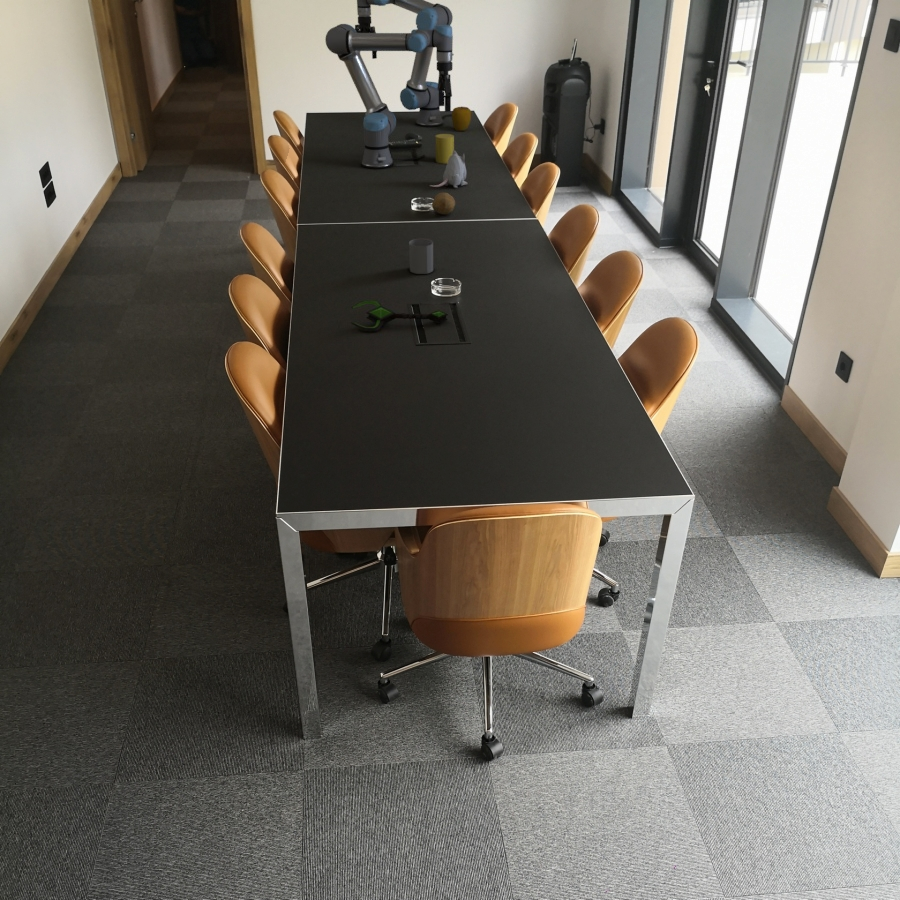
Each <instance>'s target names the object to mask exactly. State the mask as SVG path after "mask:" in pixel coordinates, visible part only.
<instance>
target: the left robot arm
mask: <svg viewBox="0 0 900 900" xmlns="http://www.w3.org/2000/svg"><path fill="white" fill-rule="evenodd" d="M453 36H454V34H453V27H452V25H438V26H437V27H436V30H422V29H417V28H416V29H411V32H376V33H357V32H356V30H355V27H354V26H352V25H350V24H348V23H340V24H337V25H336V26H334V27H332V28H329V30H328V31H327V32H326V35H325V39H324V40H325V45H326V48H327V49H328V50H329V52H330V53H332V54H334V55H337V57H338V59H339V61H342V62H344V64H345V65H344V66H345V67H346V69H347V71H348V73H349V75H350V78H351V80H352V82H353V84H354V86H355V89H356V91H357V94H358V95H359V97H360V99H361V101H362V103H363V106H364V108H365V114H364V118H363V122H362V125H363V138H364V139H363V140H364V151H363V155H362V159H361V166H362V167H363V168H366V169H371V170H381V169H387V168H390V167H392V166H394V161H416V160H421V159H422V158H424V157H425V156H426V155H425V154H422V155H421V156H418V157H414V158H413V157H412V158H392V155H391V152H390V151H391V150H390V147H389V145H390V144H389V137H390V135H391V134H393V133H394V131H395V130H396V125H397V119H396V116H395V114H394V113H393V112H392V111H391V110H390V109H389V107H388V104H387V103H385V102H383V101H382V99H381V96H380V94H379V92H378V90H377V88H376V85H375V84H374V81H373V79H372V77H371V75H370V72H369V70H368V68H367V66H366V64H365V61H364V59H363V57H362V55H361V52H372V51H377V52H413V53H416V52H421V51H422V50H423V49H424V48H426V47H433V48H435V49H436V51H435V52H436V54H435V55H436V71H438V81H437V83H438V91H439V106H440V107H444V112H445V113H452V111H451V110H452V97H453V93H452V82H451V74H449V72H452V71H453V56H454V53H453V45H454V44H453V40H454V37H453Z"/></svg>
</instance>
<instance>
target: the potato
mask: <svg viewBox="0 0 900 900" xmlns="http://www.w3.org/2000/svg"><path fill="white" fill-rule="evenodd" d="M455 206H456V200H455V198H454V196H452V195H451V194H449V193H448V192H439V193H437V194H436V195H435V197H434V198H433V200H432V201H431V207H432V209H433V210H434V212H436V213H437V214H439V215H441V216H442V215H449V214H450V213H452V212H453V211H454V209H455Z"/></svg>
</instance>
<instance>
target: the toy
mask: <svg viewBox="0 0 900 900" xmlns="http://www.w3.org/2000/svg"><path fill="white" fill-rule="evenodd" d="M452 154H453V155H451V156H450V158H449V160H448V163H446V166H445V170H444V171H443V177H442V179H443V181H442V182H441V183H439V184H436V185H435V184H433V185H432V184H430V185H428V186H429V187H434V188H440V187H443V186H446V187H448V186H449V185H451V186H453V188H455V189H459V187H458V186H461V187H462V186H467V185H468V182H467V181H465V180H466V178H467V168H466V156H465V153H463V154H462V155H459V154H458V153H457V151H456V150H455V149H454V150H453V153H452Z"/></svg>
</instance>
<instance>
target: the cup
mask: <svg viewBox="0 0 900 900" xmlns="http://www.w3.org/2000/svg"><path fill="white" fill-rule="evenodd" d="M408 253H409V272H411V273H412V274H416V275H426V274H430V273H432V272H434V241H433V240H431V239H428V238H422V237H421V238H420V237H419V238H414V239H411V240H410V241H409V242H408Z"/></svg>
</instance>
